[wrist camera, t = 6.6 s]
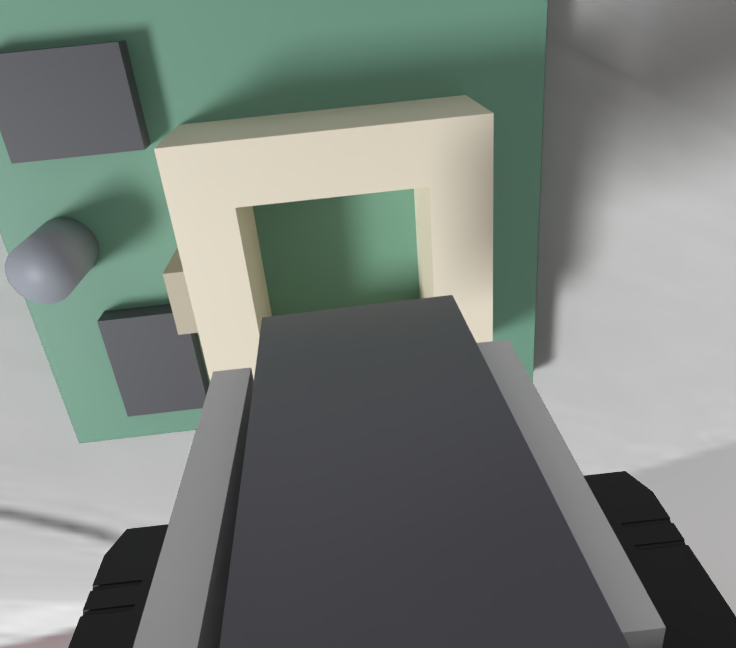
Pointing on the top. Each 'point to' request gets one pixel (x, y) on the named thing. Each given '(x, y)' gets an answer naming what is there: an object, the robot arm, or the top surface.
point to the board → (291, 230)
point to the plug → (397, 497)
